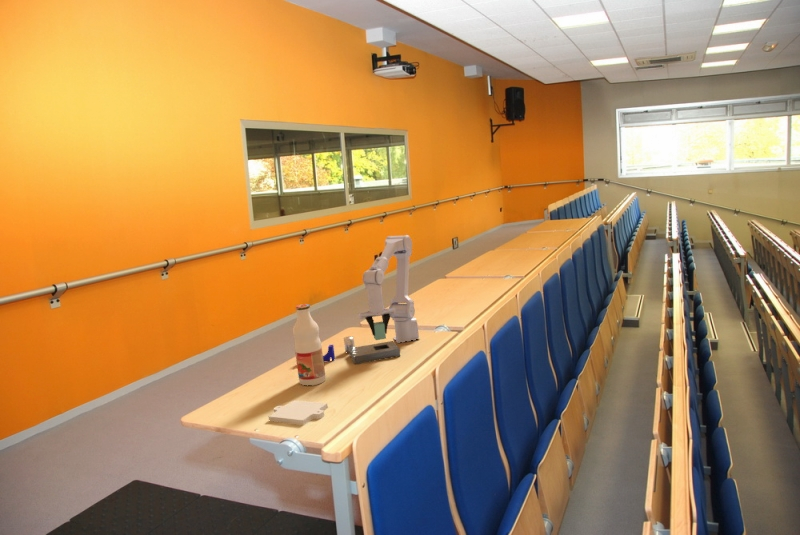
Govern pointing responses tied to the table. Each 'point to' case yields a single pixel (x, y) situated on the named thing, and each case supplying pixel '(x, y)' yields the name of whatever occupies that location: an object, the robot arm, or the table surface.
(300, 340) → the fruit juice
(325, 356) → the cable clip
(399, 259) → the robot arm
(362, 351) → the bore block
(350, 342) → the round peg
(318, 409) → the mounting plate
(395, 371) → the table surface
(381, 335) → the square peg
